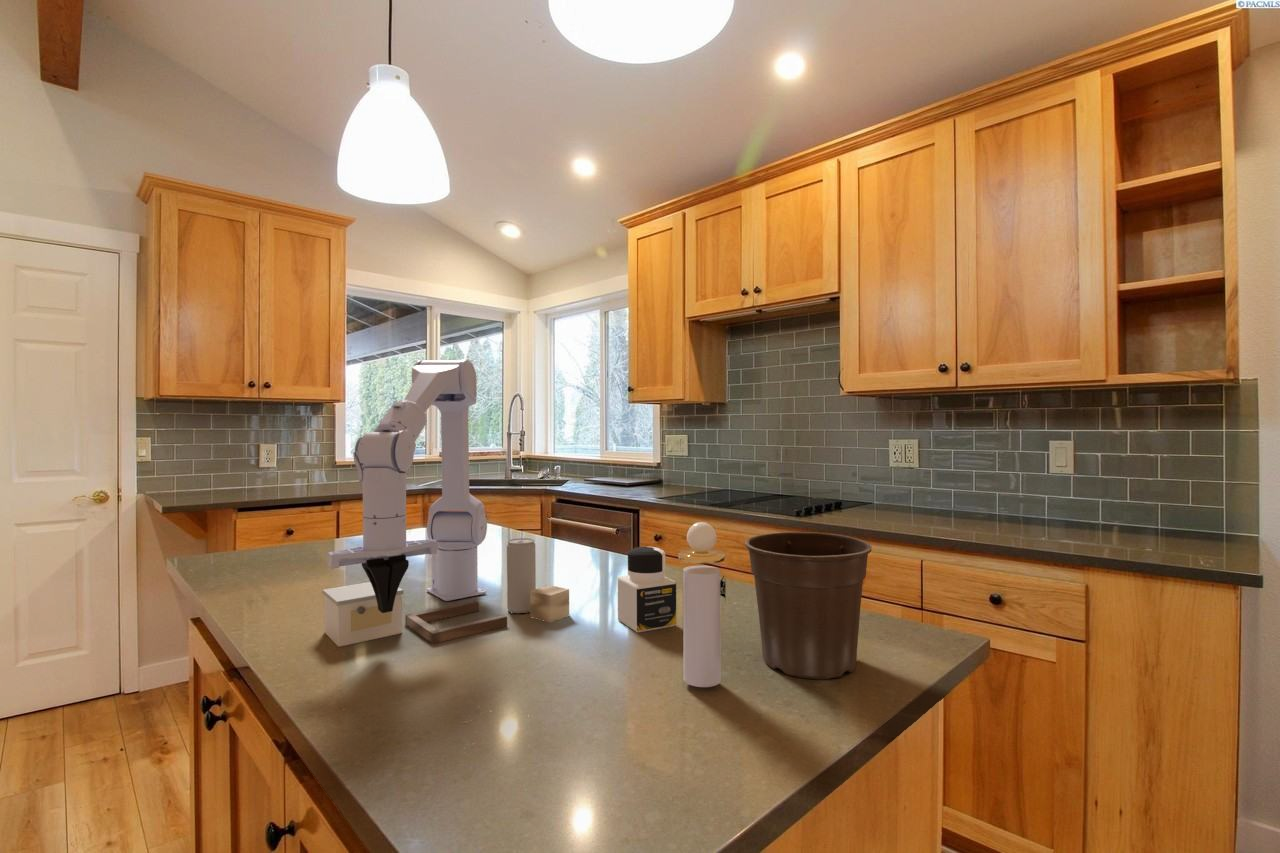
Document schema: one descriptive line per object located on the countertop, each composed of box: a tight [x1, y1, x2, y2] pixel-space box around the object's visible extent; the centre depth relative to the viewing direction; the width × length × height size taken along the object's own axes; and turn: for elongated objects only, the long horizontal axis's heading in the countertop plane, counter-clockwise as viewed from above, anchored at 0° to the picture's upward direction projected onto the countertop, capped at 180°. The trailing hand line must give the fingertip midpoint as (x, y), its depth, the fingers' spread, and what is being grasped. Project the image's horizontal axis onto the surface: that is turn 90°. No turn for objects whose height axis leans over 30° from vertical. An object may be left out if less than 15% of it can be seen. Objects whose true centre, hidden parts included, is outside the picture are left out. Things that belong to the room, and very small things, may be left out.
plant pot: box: [744, 531, 873, 680], centre depth 82 cm, size 16×16×16 cm
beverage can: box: [506, 537, 537, 614], centre depth 105 cm, size 5×5×12 cm
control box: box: [322, 581, 404, 648], centre depth 94 cm, size 9×9×7 cm
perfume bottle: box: [677, 521, 727, 688], centre depth 75 cm, size 6×6×20 cm
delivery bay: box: [404, 600, 508, 645], centre depth 97 cm, size 11×12×2 cm
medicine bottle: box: [617, 546, 677, 634], centre depth 98 cm, size 7×7×12 cm
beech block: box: [530, 585, 570, 623], centre depth 102 cm, size 4×4×4 cm
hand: (385, 610), depth 87 cm, fingers closed
